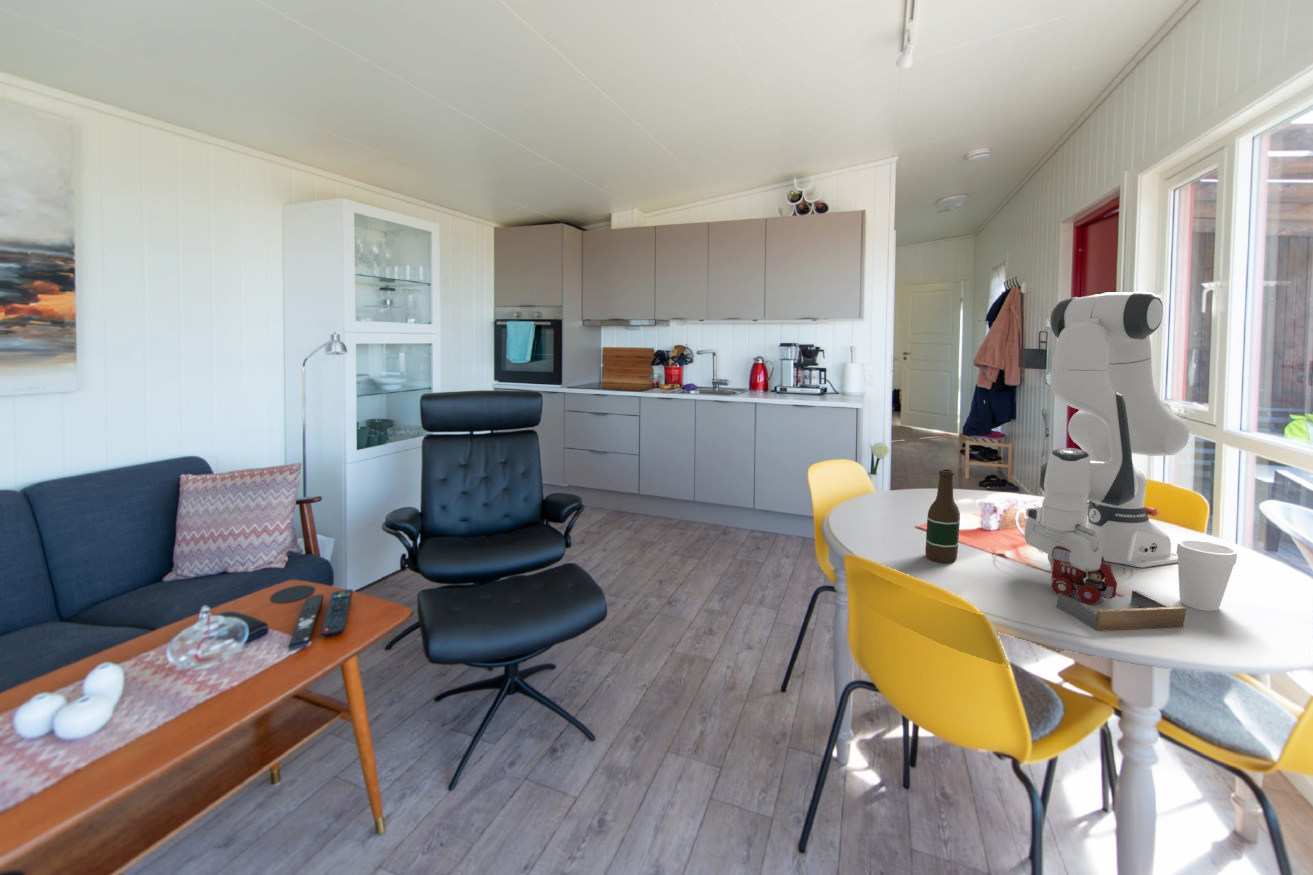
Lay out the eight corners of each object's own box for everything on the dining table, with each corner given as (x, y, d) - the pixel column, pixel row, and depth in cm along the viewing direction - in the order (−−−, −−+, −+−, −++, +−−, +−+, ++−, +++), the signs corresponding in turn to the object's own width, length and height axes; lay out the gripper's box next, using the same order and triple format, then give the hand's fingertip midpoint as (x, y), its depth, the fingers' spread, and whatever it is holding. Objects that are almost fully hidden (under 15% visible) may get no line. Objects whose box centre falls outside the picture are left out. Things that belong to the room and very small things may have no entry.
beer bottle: (944, 565, 152) (950, 474, 148) (918, 556, 159) (923, 469, 155) (963, 560, 155) (970, 471, 152) (937, 551, 162) (943, 466, 158)
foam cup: (1159, 596, 132) (1166, 540, 130) (1197, 594, 133) (1204, 538, 131) (1201, 615, 123) (1209, 555, 121) (1241, 613, 124) (1250, 553, 122)
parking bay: (1134, 602, 129) (1137, 585, 128) (1183, 626, 118) (1186, 608, 117) (1056, 606, 128) (1058, 588, 127) (1098, 630, 117) (1100, 611, 116)
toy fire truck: (1107, 610, 126) (1112, 563, 124) (1042, 591, 136) (1046, 547, 134) (1119, 601, 130) (1124, 556, 128) (1055, 583, 140) (1059, 541, 138)
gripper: (1113, 532, 127) (1106, 593, 129) (1045, 506, 147) (1040, 559, 149) (1085, 533, 127) (1079, 594, 129) (1021, 507, 147) (1016, 560, 149)
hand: (1058, 575), depth 139 cm, fingers closed
